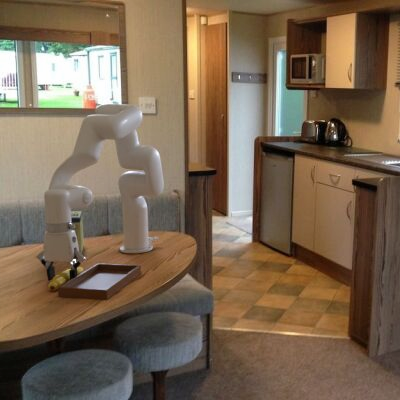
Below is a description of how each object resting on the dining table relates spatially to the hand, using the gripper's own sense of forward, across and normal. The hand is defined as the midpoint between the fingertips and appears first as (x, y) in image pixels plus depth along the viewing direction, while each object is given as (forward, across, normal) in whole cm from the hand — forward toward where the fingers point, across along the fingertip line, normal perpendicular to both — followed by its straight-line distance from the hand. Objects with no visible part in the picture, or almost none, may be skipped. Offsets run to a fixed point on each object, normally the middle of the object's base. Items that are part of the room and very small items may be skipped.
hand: (62, 279), depth 184 cm
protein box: (+1, +16, -32) cm, 35 cm away
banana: (+1, 0, 0) cm, 1 cm away
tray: (+1, -14, 0) cm, 14 cm away
